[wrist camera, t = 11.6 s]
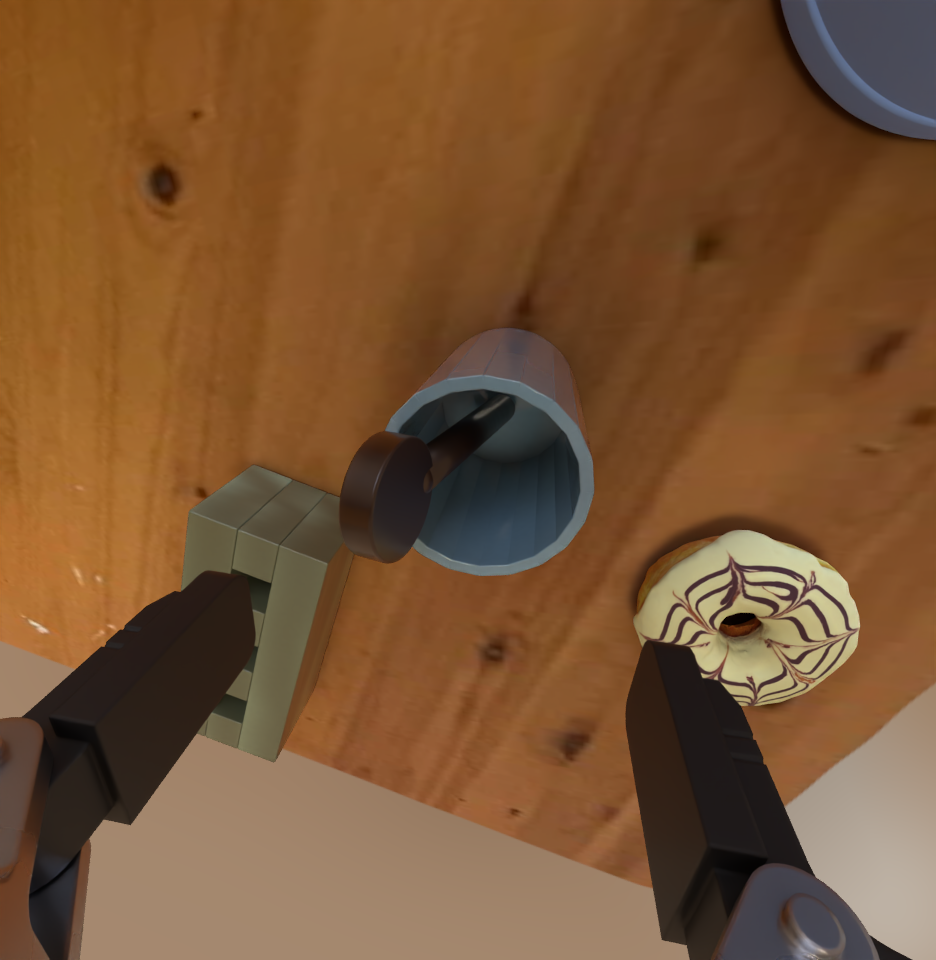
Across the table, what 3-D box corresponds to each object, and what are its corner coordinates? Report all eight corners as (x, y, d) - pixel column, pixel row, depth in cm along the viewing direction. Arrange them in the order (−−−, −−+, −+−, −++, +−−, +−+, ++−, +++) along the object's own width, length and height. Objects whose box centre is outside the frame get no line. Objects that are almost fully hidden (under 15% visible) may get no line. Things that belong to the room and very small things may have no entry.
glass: (429, 448, 28) (367, 551, 18) (448, 314, 25) (385, 354, 15) (557, 476, 27) (562, 595, 18) (594, 343, 24) (622, 402, 15)
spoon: (515, 444, 26) (378, 591, 14) (490, 439, 26) (337, 578, 15) (522, 367, 24) (372, 464, 13) (495, 364, 25) (327, 455, 13)
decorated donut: (717, 484, 26) (743, 518, 23) (875, 583, 27) (922, 631, 24) (597, 611, 31) (603, 655, 27) (736, 692, 32) (759, 745, 28)
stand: (222, 654, 37) (167, 723, 32) (253, 463, 30) (187, 510, 24) (314, 689, 37) (274, 763, 32) (367, 507, 30) (328, 564, 25)
